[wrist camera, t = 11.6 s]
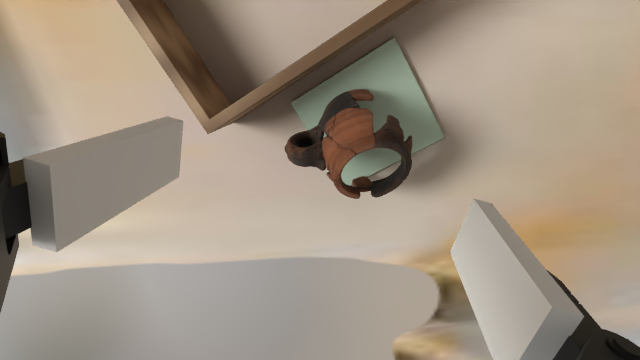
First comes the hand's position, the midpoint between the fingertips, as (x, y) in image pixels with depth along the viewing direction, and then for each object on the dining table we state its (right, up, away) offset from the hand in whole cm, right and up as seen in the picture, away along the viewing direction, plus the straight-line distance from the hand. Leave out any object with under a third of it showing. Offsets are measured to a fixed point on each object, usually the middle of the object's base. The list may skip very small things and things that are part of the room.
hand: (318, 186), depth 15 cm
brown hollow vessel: (+2, +6, +21) cm, 22 cm away
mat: (+5, +7, +20) cm, 22 cm away
